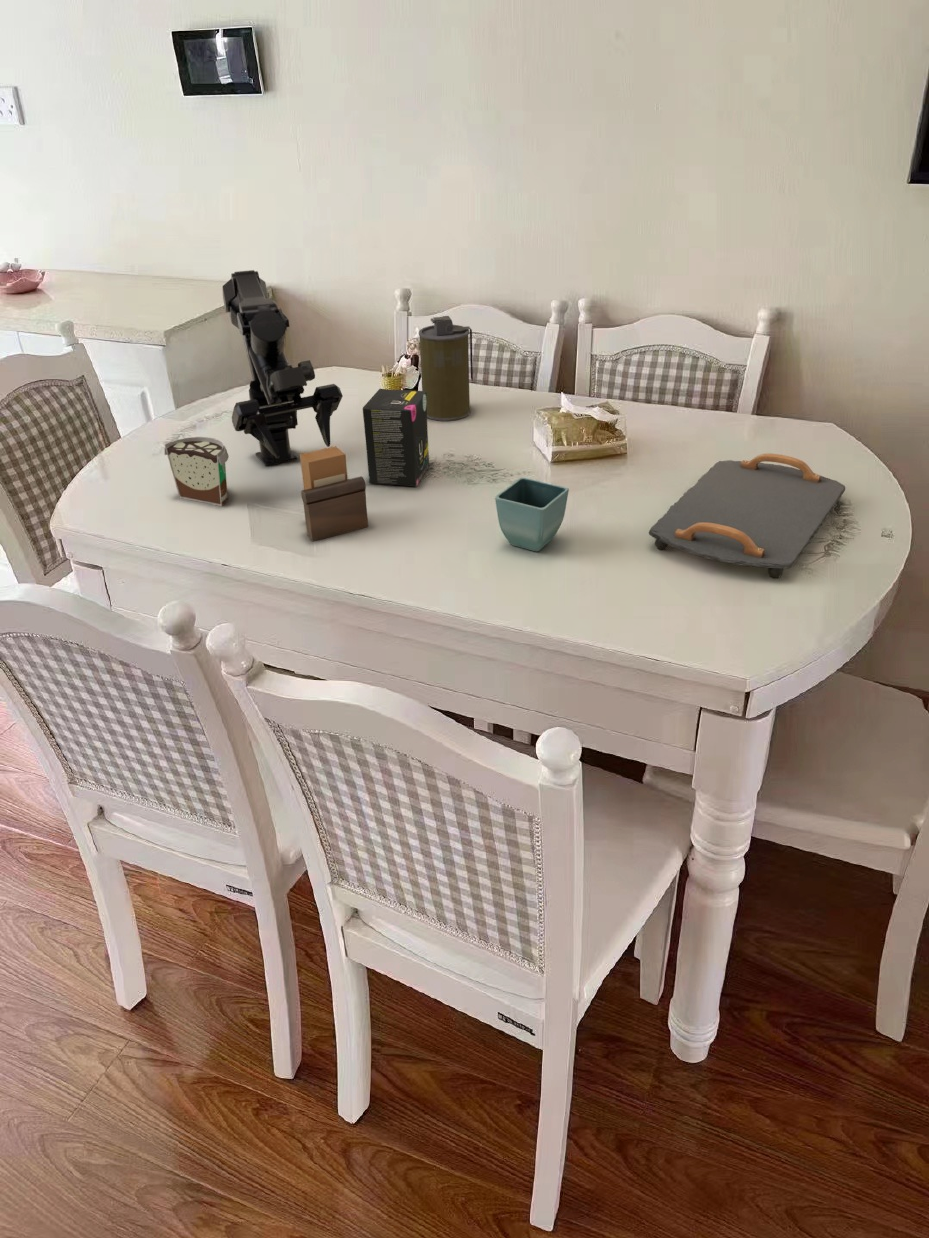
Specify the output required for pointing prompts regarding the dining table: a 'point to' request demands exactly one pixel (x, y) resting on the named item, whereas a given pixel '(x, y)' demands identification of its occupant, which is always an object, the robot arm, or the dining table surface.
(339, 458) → the cardboard box
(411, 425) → the tampon box
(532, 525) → the flower pot
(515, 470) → the dining table surface
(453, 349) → the canister
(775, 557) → the serving tray
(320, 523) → the backrest
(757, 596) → the dining table surface
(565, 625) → the dining table surface
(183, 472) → the food container
